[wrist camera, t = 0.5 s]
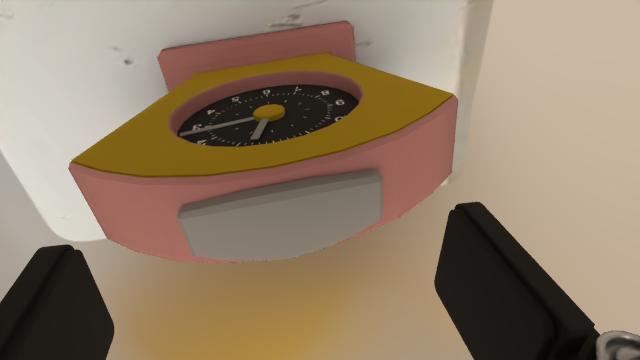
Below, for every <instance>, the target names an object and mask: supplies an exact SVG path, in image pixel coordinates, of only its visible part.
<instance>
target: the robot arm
mask: <svg viewBox="0 0 640 360" xmlns="http://www.w3.org/2000/svg"><path fill="white" fill-rule="evenodd" d="M434 282H435V289H436V292H437V294H438V296H439V297H440V299H441V301H442V303H443V305H444V307H445V308H446V310H447V312H448V314H449V315H450V317H451V319H452V321H453V323H454V324H455V326H456V328H457V330H458V331H459V333H460V335H461V337H462V339H463V341H464V342H465V344H466V346H467V348H468V350H469V351H470V353H471V355H472V357H473V359H474V360H640V336H638V335H635V334H632V333H629V332H625V331H608V332H604V333H603V334H601V335H600V334H599V333H598V332H597V331H596V330H595V329H594V325H595V324H594V323H593V322H592V321H591V320H590V319H589V318H588V317H587V316H586V315H585V314H584V312H583V311H582V310H581V309H580V308H579V307H578V306H577V305H576V304H575V303H574V302H573V301H572V300H571V298H570V297H569V296H568V295H567V294H566V293H565V292H564V291H563V290H562V289H561V288H560V287H559V286H558V285H557V284H556V282H555V281H554V280H553V279H552V278H551V277H550V276H549V275H548V274H547V273H546V272H545V271H544V270H543V268H542V267H541V266H539V264H538V263H537V262H536V261H535V260H534V259H533V258H532V257H531V256H530V255H529V254H528V252H527V251H526V250H525V249H524V248H523V247H522V246H521V245H520V244H519V243H518V242H517V241H516V240H515V238H514V237H513V236H512V235H511V234H510V233H509V232H508V231H507V230H506V229H505V228H504V227H503V226H502V225H501V224H500V222H499V221H498V220H497V219H496V218H495V217H494V216H493V215H492V214H491V213H490V212H489V211H488V210H487V208H486V207H485V206H484V205H483V204H482V203H480V202H471V203H462V204H458V205H456V206H455V209H454V210H451V211H450V213H449V216H448V221H447V225H446V230H445V234H444V239H443V244H442V249H441V252H440V257H439V262H438V266H437V271H436V275H435V281H434ZM113 336H114V324H113V321H112V319H111V316H110V314H109V312H108V310H107V307H106V305H105V303H104V301H103V298H102V296H101V294H100V292H99V289H98V287H97V285H96V283H95V280H94V278H93V276H92V274H91V271H90V269H89V267H88V265H87V262H86V260H85V258H84V256H83V253H82V252H81V251H80V250H74V248H73V247H72V246H71V245H57V246H48V247H42V248H39V249H38V250H37V251H36V253H35V254H34V256H33V257H32V258H31V260H30V261H29V263H28V264H27V265H26V267H25V268H24V270H23V271H22V273H21V274H20V276H19V277H18V278H17V280H16V281H15V283H14V284H13V286H12V287H11V288H10V290H9V291H8V293H7V294H6V295H5V297H4V298H3V300H2V301H1V303H0V360H106V357H107V354H108V351H109V348H110V345H111V343H112V340H113Z"/></svg>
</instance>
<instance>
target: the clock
mask: <svg viewBox="0 0 640 360" xmlns="http://www.w3.org/2000/svg"><path fill="white" fill-rule="evenodd" d="M157 58H158V61H159V64H160V67H161V70H162V73H163V76H164V79H165V82H166V85H167V87H168V90H169V93H168V94H166V95H165V96H164V97H162V98H161V99H159V100H158V101H156V102H155V103H154V104H152V105H151V106H149V107H148V108H146V109H145V110H144V111H142V112H141V113H139V114H138V115H136V116H135V117H133V118H132V119H131V120H129V121H128V122H126V123H125V124H123V125H122V126H120V127H119V128H118V129H116V130H115V131H113V132H112V133H110V134H109V135H107V136H106V137H104V138H103V139H102V140H100V141H99V142H97V143H96V144H94V145H93V146H91V147H90V148H89V149H87V150H86V151H84V152H83V153H81V154H80V155H79V156H77V157H76V158H74V159H73V160H72V161H71V162H70V165H69V168H68V169H69V171H70V173H71V174H72V176H73V178H74V180H75V182H76V183H77V185H78V187H79V189H80V190H81V192H82V194H83V196H84V198H85V199H86V201H87V203H88V205H89V207H90V208H91V210H92V212H93V214H94V216H95V217H96V219H97V221H98V223H99V225H100V226H101V228H102V230H103V232H104V234H105V235H106V237H107V239H110V240H112V241H114V242H116V243H118V244H120V245H123V246H125V247H127V248H129V249H131V250H133V251H136V252H139V253H144V254H148V255H152V256H156V257H161V258H165V259H169V260H173V261H178V262H216V263H237V262H245V261H267V260H276V259H287V258H295V257H298V256H301V255H304V254H308V253H310V252H314V251H317V250H320V249H324V248H326V247H328V246H331V245H333V244H336V243H339V242H343V241H347V240H350V239H353V238H355V237H357V236H359V235H362V234H364V233H366V232H368V231H370V230H372V229H375V228H377V227H379V226H381V225H384V224H386V223H388V222H390V221H392V220H394V219H397V218H399V217H401V216H402V215H403V214H405V213H406V212H407V211H409V210H410V209H412V208H413V207H414V206H416V205H417V204H418V203H419V202H421V201H423V200H424V199H425V198H427V197H428V196H429V195H431V194H432V193H433V192H434V191H435V190H436V189H437V188H438V187H439V186H440V184H441V183H442V182H443V181H444V180H445V179H446V178H447V177H448V176H449V175H450V174H451V173H452V163H453V152H454V141H455V129H456V118H457V107H458V99H457V98H456V96H455V95H453V94H452V93H449V92H446V91H443V90H439V89H436V88H433V87H430V86H427V85H424V84H421V83H418V82H414V81H411V80H408V79H405V78H402V77H398V76H395V75H392V74H389V73H386V72H383V71H380V70H377V69H373V68H370V67H367V66H364V65H361V64H358V63H356V57H355V42H354V27H353V26H352V25H351V24H350V23H348V22H347V21H343V22H337V23H330V24H324V25H317V26H311V27H304V28H298V29H291V30H285V31H279V32H272V33H266V34H259V35H253V36H246V37H240V38H233V39H227V40H220V41H214V42H207V43H201V44H194V45H188V46H181V47H175V48H168V49H163V50H162V51H161V52H160V54H159V56H158V57H157Z"/></svg>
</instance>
